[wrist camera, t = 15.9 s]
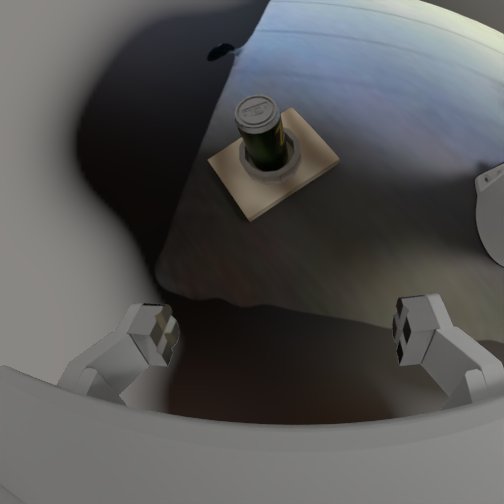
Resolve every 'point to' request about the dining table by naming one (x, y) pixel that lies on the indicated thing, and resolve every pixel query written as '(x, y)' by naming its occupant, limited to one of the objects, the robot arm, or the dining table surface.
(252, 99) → the beer can
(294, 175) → the board
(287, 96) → the dining table surface
